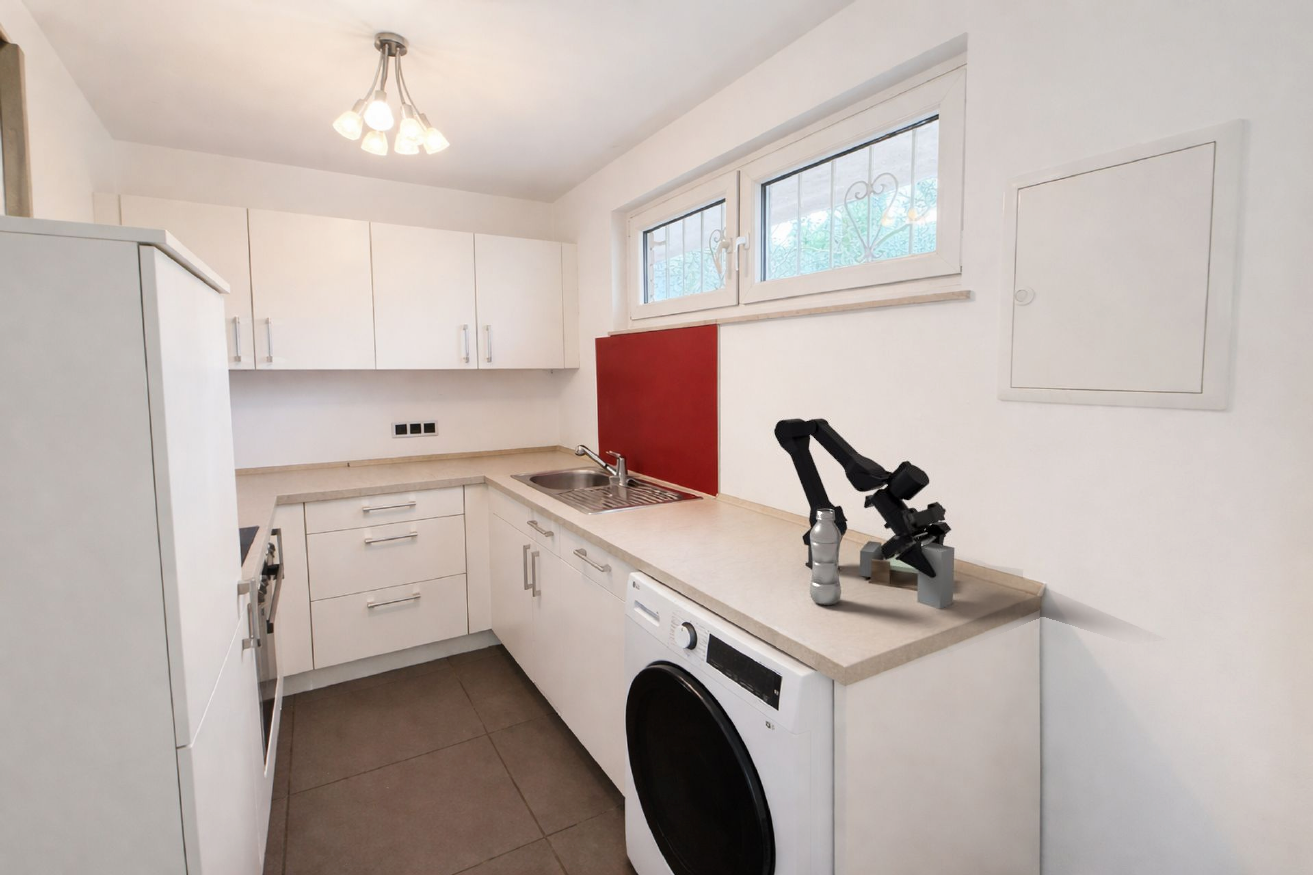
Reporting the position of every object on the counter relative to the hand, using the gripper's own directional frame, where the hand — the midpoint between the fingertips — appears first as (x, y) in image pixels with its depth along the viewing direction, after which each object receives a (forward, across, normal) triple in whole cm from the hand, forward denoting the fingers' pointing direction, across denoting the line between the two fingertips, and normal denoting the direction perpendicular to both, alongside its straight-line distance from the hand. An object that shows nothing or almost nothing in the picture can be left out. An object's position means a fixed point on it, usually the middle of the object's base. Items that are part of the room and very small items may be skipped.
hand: (942, 573), depth 127 cm
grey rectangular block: (+4, 0, +6) cm, 7 cm away
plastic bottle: (-6, -18, +16) cm, 25 cm away
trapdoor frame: (-4, +8, +13) cm, 16 cm away
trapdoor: (-6, +7, +14) cm, 17 cm away
